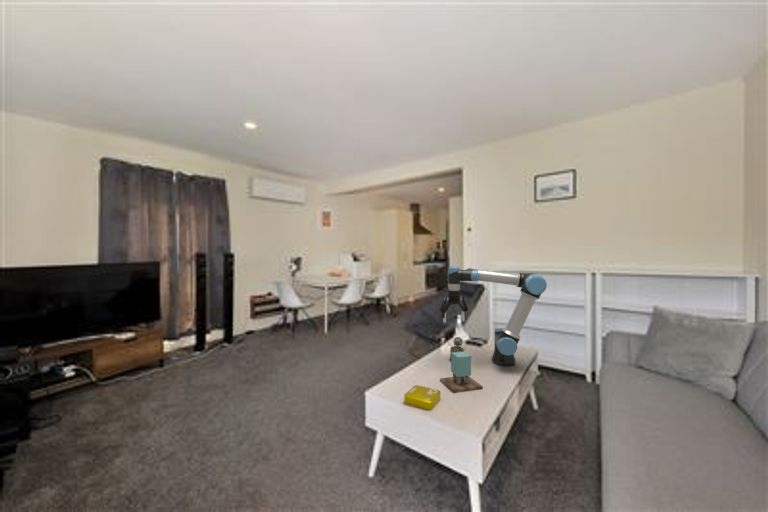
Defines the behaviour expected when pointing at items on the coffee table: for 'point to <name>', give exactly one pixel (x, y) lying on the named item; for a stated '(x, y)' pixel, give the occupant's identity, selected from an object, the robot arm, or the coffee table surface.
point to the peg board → (462, 387)
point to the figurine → (456, 348)
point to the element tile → (422, 397)
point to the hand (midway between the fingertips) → (453, 321)
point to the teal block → (461, 364)
